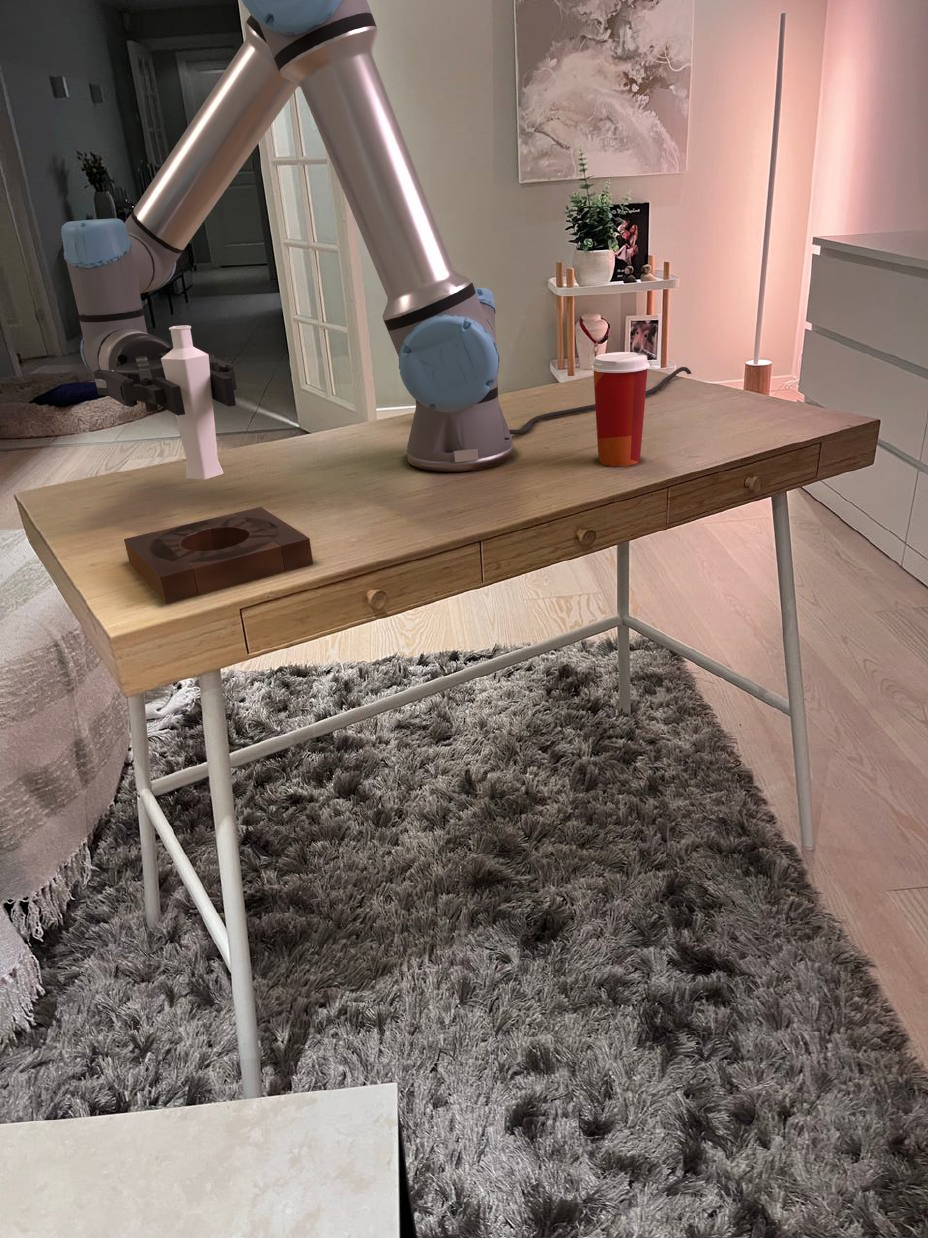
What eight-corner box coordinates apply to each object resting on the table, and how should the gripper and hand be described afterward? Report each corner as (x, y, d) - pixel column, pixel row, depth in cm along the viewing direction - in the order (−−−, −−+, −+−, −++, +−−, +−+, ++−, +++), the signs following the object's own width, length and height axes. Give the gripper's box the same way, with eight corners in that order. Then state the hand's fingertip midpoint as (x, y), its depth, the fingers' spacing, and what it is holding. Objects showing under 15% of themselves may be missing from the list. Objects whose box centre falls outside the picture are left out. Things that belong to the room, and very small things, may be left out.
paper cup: (628, 449, 133) (630, 348, 127) (658, 462, 127) (661, 356, 121) (580, 458, 131) (579, 355, 125) (608, 472, 124) (609, 364, 118)
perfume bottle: (209, 465, 102) (185, 322, 96) (234, 471, 99) (211, 324, 93) (173, 476, 99) (146, 328, 92) (198, 482, 96) (172, 331, 90)
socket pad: (264, 530, 112) (260, 506, 110) (313, 564, 101) (309, 538, 99) (129, 564, 104) (123, 538, 103) (166, 604, 93) (160, 576, 92)
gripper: (218, 386, 115) (293, 419, 97) (70, 410, 107) (121, 451, 89) (208, 323, 112) (283, 344, 93) (54, 342, 103) (104, 370, 85)
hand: (204, 396), depth 91 cm, fingers closed on perfume bottle, 4 cm apart
